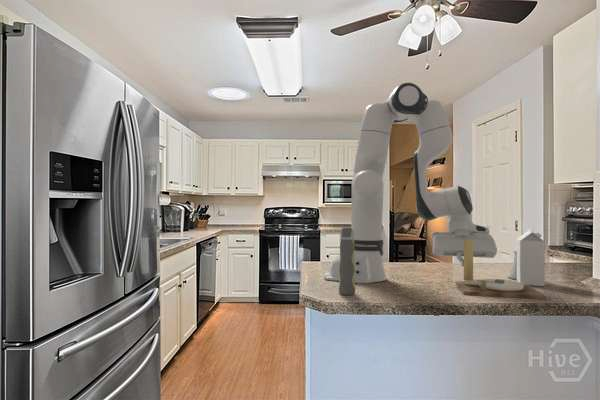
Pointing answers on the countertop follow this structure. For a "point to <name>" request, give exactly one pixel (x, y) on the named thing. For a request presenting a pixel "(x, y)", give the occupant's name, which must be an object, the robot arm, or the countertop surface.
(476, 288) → the base board
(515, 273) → the flask
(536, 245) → the milk carton
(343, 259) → the grey upright post
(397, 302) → the countertop surface
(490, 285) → the white and beige stand
